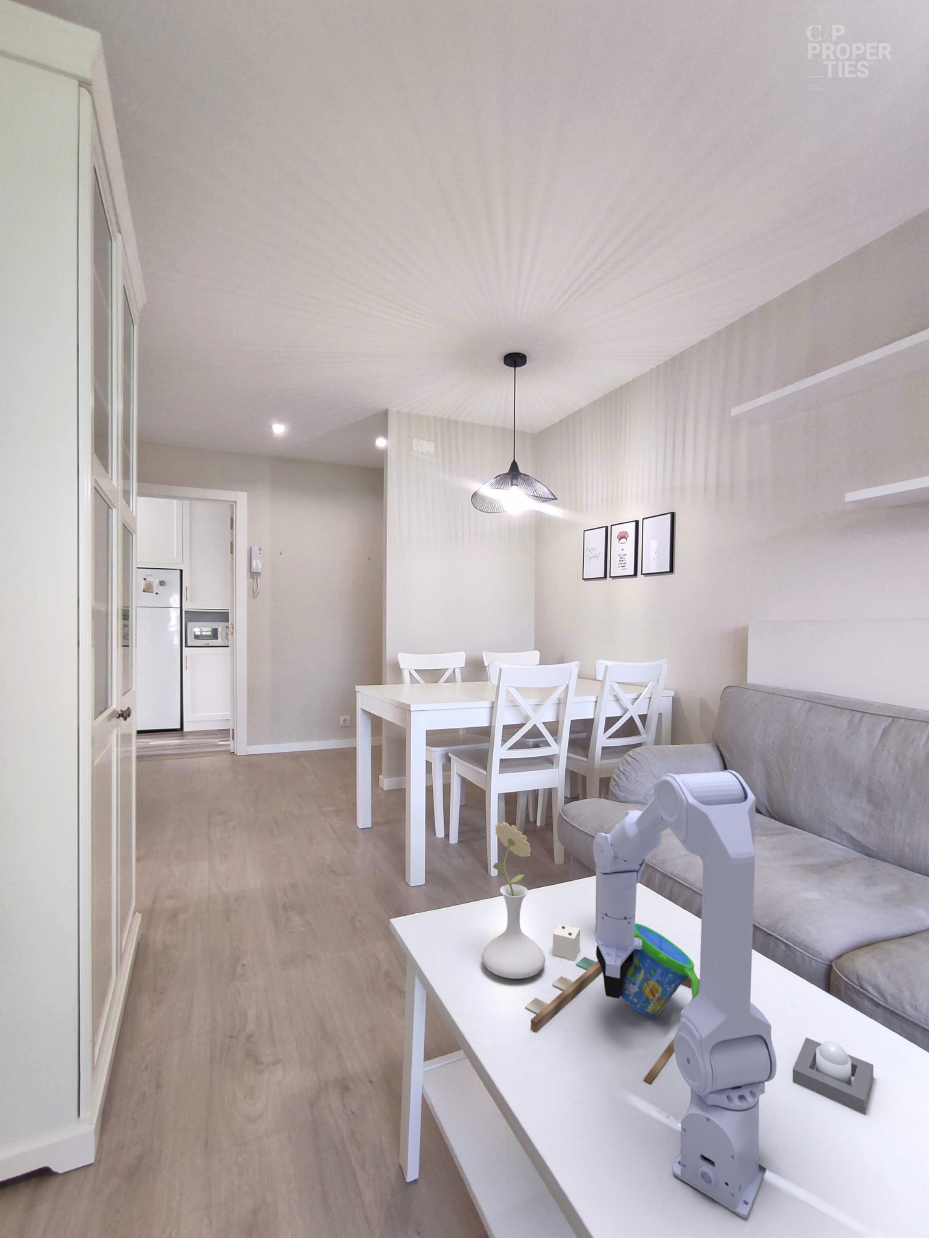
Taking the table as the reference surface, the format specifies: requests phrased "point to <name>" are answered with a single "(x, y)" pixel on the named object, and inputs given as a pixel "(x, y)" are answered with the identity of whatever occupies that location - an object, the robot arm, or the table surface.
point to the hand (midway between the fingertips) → (613, 994)
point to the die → (566, 942)
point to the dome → (833, 1062)
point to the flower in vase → (513, 920)
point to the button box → (831, 1087)
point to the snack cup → (656, 973)
